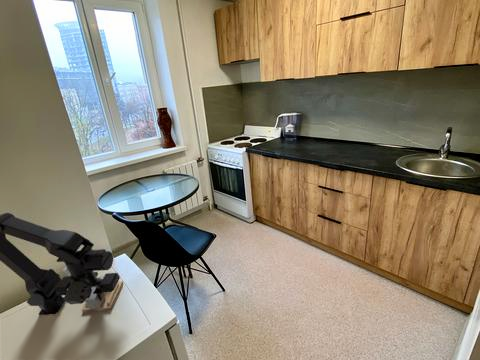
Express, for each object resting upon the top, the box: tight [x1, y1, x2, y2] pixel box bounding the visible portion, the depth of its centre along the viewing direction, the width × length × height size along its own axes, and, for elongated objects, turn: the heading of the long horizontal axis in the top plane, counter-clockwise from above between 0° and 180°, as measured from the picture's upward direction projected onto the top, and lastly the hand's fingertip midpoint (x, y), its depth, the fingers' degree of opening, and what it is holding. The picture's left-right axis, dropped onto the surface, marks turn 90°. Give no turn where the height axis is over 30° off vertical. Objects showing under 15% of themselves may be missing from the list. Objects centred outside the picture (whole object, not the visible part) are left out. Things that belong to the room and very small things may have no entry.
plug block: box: [84, 287, 106, 309], centre depth 87 cm, size 4×5×5 cm
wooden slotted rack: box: [81, 280, 124, 313], centre depth 91 cm, size 10×11×5 cm
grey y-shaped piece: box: [62, 266, 71, 276], centre depth 97 cm, size 7×2×8 cm, turn 84°
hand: (96, 300), depth 88 cm, fingers closed on plug block, 3 cm apart
